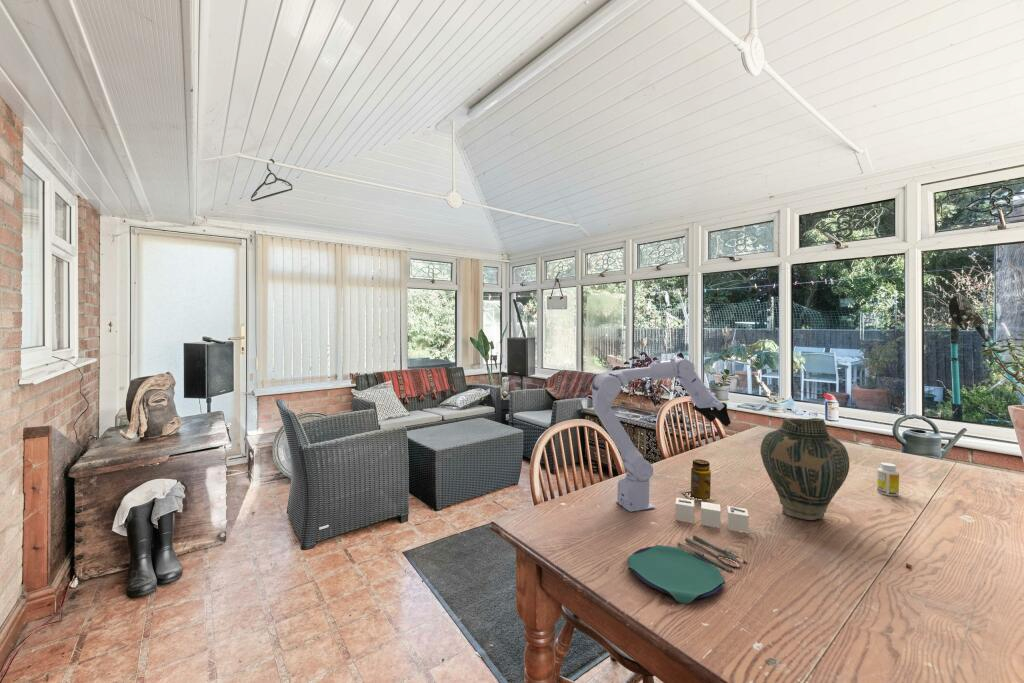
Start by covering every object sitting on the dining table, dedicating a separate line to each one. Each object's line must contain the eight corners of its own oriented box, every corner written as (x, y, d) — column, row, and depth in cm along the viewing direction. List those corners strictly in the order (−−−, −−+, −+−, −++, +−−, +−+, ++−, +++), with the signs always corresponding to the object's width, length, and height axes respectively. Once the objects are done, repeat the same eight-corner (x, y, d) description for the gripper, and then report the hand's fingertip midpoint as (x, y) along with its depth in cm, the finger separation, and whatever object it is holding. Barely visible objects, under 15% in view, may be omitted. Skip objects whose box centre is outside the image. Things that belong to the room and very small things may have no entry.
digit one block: (693, 523, 120) (693, 505, 120) (675, 520, 122) (675, 502, 122) (694, 516, 125) (694, 499, 125) (676, 513, 127) (676, 496, 127)
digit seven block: (748, 533, 114) (748, 515, 114) (728, 530, 116) (728, 511, 116) (746, 526, 119) (746, 508, 119) (727, 522, 121) (727, 505, 121)
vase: (866, 535, 113) (869, 427, 113) (776, 527, 118) (778, 422, 117) (823, 503, 135) (825, 411, 134) (748, 497, 140) (750, 408, 139)
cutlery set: (610, 567, 98) (611, 558, 98) (689, 537, 114) (689, 528, 114) (685, 618, 81) (686, 606, 81) (765, 573, 97) (765, 564, 97)
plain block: (720, 528, 117) (720, 511, 117) (700, 525, 119) (701, 508, 119) (719, 521, 122) (719, 504, 122) (701, 518, 124) (701, 501, 124)
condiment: (716, 500, 137) (716, 464, 137) (692, 501, 136) (692, 465, 136) (703, 491, 144) (703, 457, 144) (680, 492, 143) (680, 458, 143)
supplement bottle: (900, 494, 143) (900, 464, 143) (897, 498, 140) (897, 468, 139) (878, 489, 147) (879, 460, 147) (875, 493, 144) (876, 463, 144)
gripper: (720, 384, 127) (744, 418, 128) (693, 380, 142) (715, 410, 143) (703, 398, 126) (728, 433, 128) (677, 392, 141) (700, 423, 142)
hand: (720, 422), depth 135 cm, fingers open, 7 cm apart
